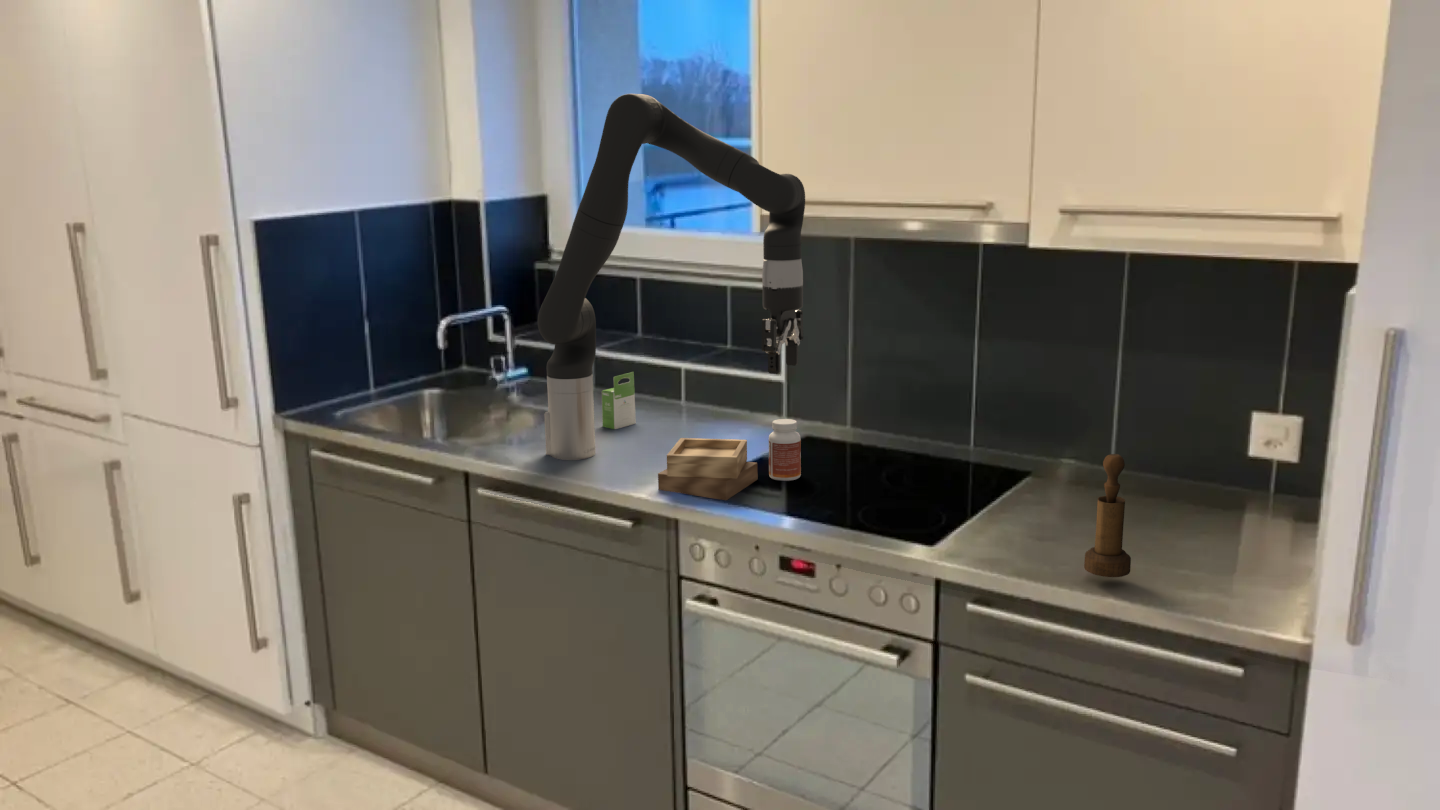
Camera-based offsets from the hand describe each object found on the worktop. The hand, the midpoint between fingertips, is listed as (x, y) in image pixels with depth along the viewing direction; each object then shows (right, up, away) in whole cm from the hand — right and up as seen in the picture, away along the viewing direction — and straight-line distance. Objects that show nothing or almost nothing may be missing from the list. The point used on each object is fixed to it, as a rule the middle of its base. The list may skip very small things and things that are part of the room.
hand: (783, 369), depth 225 cm
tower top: (-14, -19, 0) cm, 23 cm away
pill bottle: (+1, -21, +6) cm, 22 cm away
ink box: (-35, -13, +43) cm, 56 cm away
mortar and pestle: (+46, -32, -45) cm, 72 cm away
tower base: (-14, -23, +1) cm, 27 cm away
